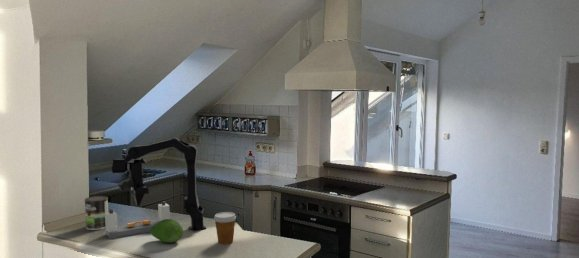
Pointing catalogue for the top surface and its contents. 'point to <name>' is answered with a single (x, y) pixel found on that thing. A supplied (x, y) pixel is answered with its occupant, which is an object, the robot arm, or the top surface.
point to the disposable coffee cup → (225, 227)
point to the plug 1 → (111, 221)
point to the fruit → (167, 231)
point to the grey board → (131, 230)
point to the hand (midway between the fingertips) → (138, 205)
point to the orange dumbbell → (138, 222)
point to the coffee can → (96, 212)
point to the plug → (163, 211)
